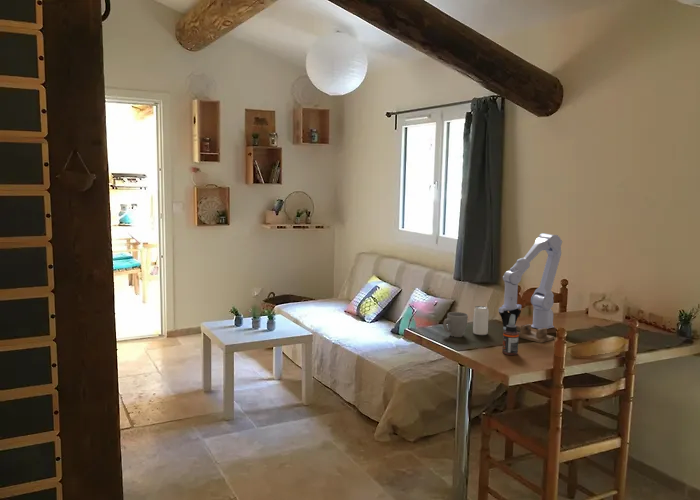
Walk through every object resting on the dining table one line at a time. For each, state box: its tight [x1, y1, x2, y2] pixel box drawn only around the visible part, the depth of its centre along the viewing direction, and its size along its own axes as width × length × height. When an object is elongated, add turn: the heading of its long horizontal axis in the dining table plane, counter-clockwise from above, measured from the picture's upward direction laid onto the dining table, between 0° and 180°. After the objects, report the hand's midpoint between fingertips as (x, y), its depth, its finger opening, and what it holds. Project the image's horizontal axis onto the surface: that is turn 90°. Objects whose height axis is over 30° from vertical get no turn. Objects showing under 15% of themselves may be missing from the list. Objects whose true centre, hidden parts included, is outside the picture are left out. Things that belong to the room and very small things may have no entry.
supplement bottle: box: [502, 324, 520, 356], centre depth 239 cm, size 6×6×11 cm
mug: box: [442, 311, 469, 338], centre depth 264 cm, size 12×9×10 cm
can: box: [472, 305, 490, 336], centre depth 269 cm, size 6×6×12 cm
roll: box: [503, 314, 516, 331], centre depth 278 cm, size 5×5×7 cm
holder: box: [518, 323, 555, 344], centre depth 265 cm, size 10×14×5 cm
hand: (509, 325), depth 278 cm, fingers closed on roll, 5 cm apart
